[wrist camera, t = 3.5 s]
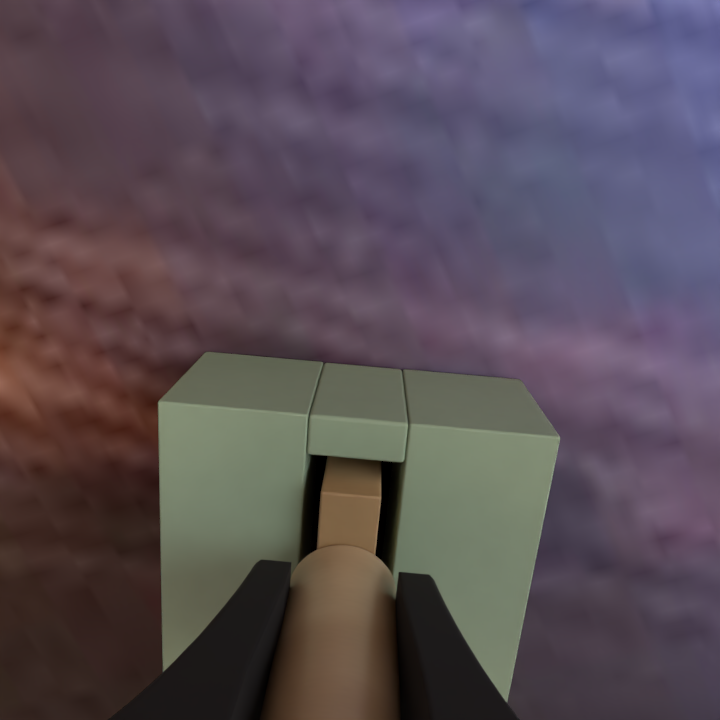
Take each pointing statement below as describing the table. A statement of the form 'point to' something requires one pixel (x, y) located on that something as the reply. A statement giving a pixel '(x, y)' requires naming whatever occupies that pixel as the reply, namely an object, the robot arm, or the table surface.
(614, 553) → the table surface
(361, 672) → the wooden peg
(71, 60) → the table surface
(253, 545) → the green slotted block
